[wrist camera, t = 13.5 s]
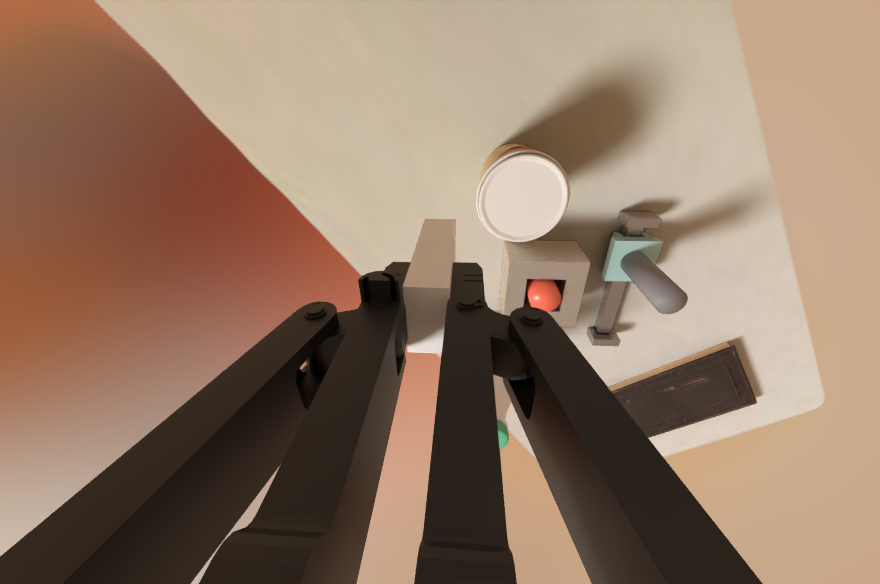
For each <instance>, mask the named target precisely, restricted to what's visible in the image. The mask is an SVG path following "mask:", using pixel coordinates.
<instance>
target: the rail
mask: <svg viewBox="0 0 880 584" xmlns="http://www.w3.org/2000/svg"><path fill="white" fill-rule="evenodd" d="M617 220H618V221H619V222H621V223H622V224H623V229H622V232H621V234H622V235H623V236H624V237H641V235H642V232H643V229H644V228H659V225H660V222H661V218H660V217H658V216H657V215H655V214H654V213H652V212H651V211H620V212H619V216H618V219H617ZM626 283H627V281H608V282H607V285H606V289H605V292H604V296H603V299H602V303H601V307H600V310H599V314H598V317H597V321H596V324H595V328H588V330H587V335H588V337H589V339H590V341H591V343H592V345H600V346H619V343H620V339H619V337H618V336H617V334H616V332H615V331H614V329H612V327H613V324H614V321H615V318H616V314H617V311H618V308H619V305H620V302H621V299H622V295H623V292H624V289H625V286H626Z"/></svg>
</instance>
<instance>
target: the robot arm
mask: <svg viewBox="0 0 880 584" xmlns="http://www.w3.org/2000/svg"><path fill="white" fill-rule="evenodd" d="M455 238H456V220H455V219H425V221H424V224H423V227H422V230H421V233H420V236H419V239H418V242H417V245H416V248H415V251H414V254H413V257H412V260H411V262H393V263H391V264H390V265H388V266H387V267H386V268H385V270H384V271H375V272H371V273H367V274H365V275H363V276H362V277H361V278H360V279H359V280H358V281H359V288H360V294H361V301H362V302H361V304H360V306H359V308H358V309H355V310H351V311H345V312H338V313H337V309H336V307H335V306H334V305H333V304H331V303H328V302H313V303H310V304H307V305H305V306H303V307H301V308H300V309H298V310H297V311H296V312H294V313H293V314H292V315H291V316H290V317H288V318H287V319H286V320H285V321H284V322H282V323H281V324H280V325H279V326H278V327H276V328H275V329H274V330H273V331H272V332H270V333H269V334H268V335H267V336H265V337H264V338H263V339H262V340H261V341H259V342H258V343H257V344H256V345H255V346H253V347H252V348H251V349H250V350H249V351H247V352H246V353H245V354H244V355H243V356H241V357H240V358H239V359H238V360H237V361H235V362H234V363H233V364H232V365H231V366H229V367H228V368H227V369H226V370H225V371H223V372H222V373H221V374H220V375H218V376H217V377H216V378H215V379H214V380H212V381H211V382H210V383H209V384H208V385H206V386H205V387H204V388H203V389H202V390H200V391H199V392H198V393H197V394H196V395H194V396H193V397H192V398H191V399H190V400H188V401H187V402H186V403H185V404H184V405H182V406H181V407H180V408H179V409H178V410H176V411H175V412H174V413H173V414H171V415H170V416H169V417H168V418H167V419H166V420H165V421H163V422H162V423H161V424H159V425H158V426H157V427H156V428H155V429H153V430H152V431H151V432H150V433H149V434H147V435H146V436H145V437H144V438H143V439H141V440H140V441H139V442H138V443H137V444H135V445H134V446H133V447H132V448H131V449H129V450H128V451H127V452H126V453H124V454H123V455H122V456H121V457H120V458H118V459H117V460H116V461H115V462H114V463H112V464H111V465H110V466H109V467H108V468H106V469H105V470H104V471H103V472H102V473H100V474H99V475H98V476H97V477H96V478H94V479H93V480H92V481H91V482H90V483H88V484H87V485H86V486H85V487H84V488H82V489H81V490H80V491H79V492H77V493H76V494H75V495H74V496H73V497H72V498H70V499H69V500H68V501H67V502H65V503H64V504H63V505H62V506H61V507H59V508H58V509H57V510H56V511H55V512H53V513H52V514H51V515H50V516H49V517H48V518H46V519H45V520H44V521H43V522H42V523H40V524H39V525H38V526H37V527H36V528H34V529H33V530H32V531H31V532H29V533H28V534H27V535H26V536H24V537H23V538H22V539H21V540H20V541H18V542H17V543H16V544H15V545H14V546H13V547H11V548H10V549H9V550H8V551H7V552H5V553H4V554H3V555H2V556H0V584H191V582H192V581H193V580H194V578H195V577H196V575H197V574H198V573H199V572H200V570H201V569H202V568H203V566H204V565H205V564H206V562H207V561H208V560H209V558H210V557H211V556H212V554H213V553H214V552H215V550H216V549H217V548H218V546H219V545H220V544H221V542H222V541H223V540H224V539H225V537H226V536H227V535H228V533H229V532H230V531H231V529H232V528H233V527H234V525H235V524H236V523H237V521H238V520H239V519H240V517H241V516H242V515H243V513H244V512H245V511H246V509H247V508H248V507H249V505H250V504H251V503H252V501H253V500H254V499H255V498H256V496H257V495H258V493H259V492H260V491H261V490H262V488H263V487H264V486H265V484H266V483H267V482H268V480H269V479H270V478H271V476H272V475H273V474H274V472H275V471H276V470H277V468H278V467H279V466H280V467H279V469H278V471H277V473H276V476H275V478H274V480H273V482H272V484H271V486H270V488H269V490H268V492H267V494H266V496H265V498H264V500H263V502H262V504H261V506H260V508H259V510H258V512H257V514H256V516H255V517H254V519H253V521H252V522H251V523H250V524H249V525H248V526H247V527H245V528H243V529H240V530H237V531H235V532H233V533H232V534H231V535H230V536H229V537H228V538H227V539H226V540H225V541H224V542H223V543H222V545H221V546H220V548H219V549H218V551H217V552H216V554H215V556H214V557H213V559H212V560H211V562H210V564H209V566H208V568H207V570H206V571H205V573H204V575H203V577H202V579H201V581H200V583H199V584H356V583H357V578H358V574H359V569H360V564H361V560H362V555H363V551H364V547H365V542H366V538H367V533H368V529H369V524H370V520H371V516H372V511H373V507H374V502H375V497H376V493H377V488H378V484H379V480H380V475H381V470H382V466H383V461H384V457H385V452H386V448H387V444H388V439H389V435H390V430H391V426H392V421H393V417H394V412H395V407H396V404H397V399H398V394H399V390H400V385H401V381H402V377H403V372H404V367H405V363H406V358H405V348H406V344H407V348H408V352H421V353H442V356H441V366H440V376H439V385H438V396H437V405H436V415H435V424H434V434H433V444H432V453H431V463H430V473H429V483H428V493H427V502H426V512H425V521H424V531H423V537H422V541H421V544H420V547H419V553H418V558H417V566H416V574H415V583H414V584H517V582H516V574H515V566H514V561H513V555H512V552H511V550H510V548H509V546H508V540H507V531H506V519H505V507H504V495H503V484H502V472H501V460H500V448H499V437H498V425H497V413H496V401H495V390H494V378H493V375H496V376H499V377H502V378H503V383H504V386H505V388H506V390H507V393H508V395H509V397H510V399H511V402H512V404H513V406H514V408H515V411H516V413H517V415H518V417H519V420H520V422H521V424H522V427H523V429H524V431H525V433H526V436H527V438H528V440H529V442H530V445H531V447H532V449H533V451H534V454H535V456H536V458H537V461H538V463H539V465H540V467H541V469H542V472H543V474H544V476H545V479H546V481H547V483H548V485H549V487H550V490H551V492H552V495H553V497H554V499H555V501H556V504H557V506H558V508H559V510H560V513H561V515H562V517H563V519H564V522H565V524H566V526H567V528H568V531H569V533H570V535H571V538H572V540H573V542H574V544H575V547H576V549H577V551H578V553H579V556H580V558H581V560H582V562H583V565H584V567H585V569H586V572H587V574H588V576H589V578H590V581H591V583H592V584H762V583H761V581H760V580H759V579H758V578H757V576H756V575H755V574H754V572H753V571H752V570H751V569H750V567H749V566H748V565H747V563H746V562H745V561H744V560H743V558H742V557H741V556H740V554H739V553H738V552H737V551H736V549H735V548H734V547H733V546H732V544H731V543H730V542H729V540H728V539H727V538H726V537H725V536H724V534H723V533H722V532H721V530H720V529H719V528H718V527H717V525H716V524H715V523H714V521H713V520H712V519H711V518H710V516H709V515H708V514H707V513H706V511H705V510H704V509H703V508H702V506H701V505H700V504H699V502H698V501H697V500H696V499H695V497H694V496H693V495H692V493H691V492H690V491H689V490H688V488H687V487H686V486H685V485H684V484H683V482H682V481H681V480H680V478H679V477H678V476H677V474H676V473H675V472H674V471H673V470H672V468H671V467H670V466H669V464H668V463H667V462H666V460H665V459H664V458H663V457H662V455H661V454H660V453H659V452H658V450H657V449H656V448H655V446H654V445H653V444H652V443H651V441H650V440H649V439H648V438H647V436H646V435H645V434H644V432H643V431H642V430H641V429H640V427H639V426H638V425H637V424H636V422H635V421H634V420H633V419H632V417H631V416H630V415H629V413H628V412H627V411H626V410H625V408H624V407H623V406H622V405H621V403H620V402H619V401H618V399H617V398H616V397H615V396H614V394H613V393H612V392H611V391H610V389H609V388H608V387H607V385H606V384H605V383H604V382H603V380H602V379H601V378H600V377H599V375H598V374H597V373H596V372H595V370H594V369H593V368H592V366H591V365H590V364H589V363H588V361H587V360H586V359H585V358H584V356H583V355H582V354H581V352H580V351H579V350H578V349H577V347H576V346H575V345H574V344H573V342H572V341H571V340H570V338H569V337H568V336H567V335H566V333H565V332H564V331H563V330H562V328H561V327H560V326H559V325H558V323H557V322H556V321H555V319H554V318H553V317H552V316H551V315H550V314H549V313H548V312H546V311H544V310H542V309H539V308H536V307H520V308H516V309H515V310H513V311H512V312H511V314H510V316H508V315H503V314H500V313H497V312H495V311H493V310H491V309H490V308H489V307H488V306H487V303H486V301H485V296H484V283H483V271H482V268H481V267H480V266H479V265H478V264H477V263H458V262H455ZM305 361H306V363H307V365H306V366H305V367H304V368H303V369H302V370H300V367H301V365H302V364H303V363H304V362H305ZM280 464H281V465H280Z"/></svg>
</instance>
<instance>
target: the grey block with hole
mask: <svg viewBox="0 0 880 584" xmlns="http://www.w3.org/2000/svg"><path fill="white" fill-rule="evenodd" d="M589 267H590V261H589V260H588V258H587V257H586V255H585V254H584V253H583V251H582V250H581V248H580V247H579V246H578V244H577V243H576V241H545V240H530V241H525V242H511V241H507V240H504V249H503V260H502V270H501V281H500V292H499V303H500V309H501V314H503V315H508V316H510V314H511V312H512V311H513V310H515V309H516V308H520V307H531V305H530V302H529V298H528V295H527V291H526V283H527V279H554V281H555V283H556V285H557V288H558V290H559V292H560V294H561V302H560V304H559V305H558V307H557V308H555V309H554V310H552V311H549V312H548V313H549V314H550V315H551V316H552V317H553V318H554V319H555V321H556V322H557V323H558V325H559V326H560V327H575V325H576V321H577V316H578V312H579V308H580V304H581V300H582V296H583V292H584V288H585V284H586V280H587V275H588V271H589Z"/></svg>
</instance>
